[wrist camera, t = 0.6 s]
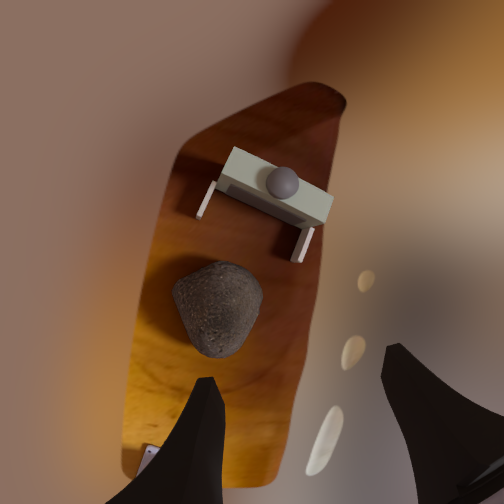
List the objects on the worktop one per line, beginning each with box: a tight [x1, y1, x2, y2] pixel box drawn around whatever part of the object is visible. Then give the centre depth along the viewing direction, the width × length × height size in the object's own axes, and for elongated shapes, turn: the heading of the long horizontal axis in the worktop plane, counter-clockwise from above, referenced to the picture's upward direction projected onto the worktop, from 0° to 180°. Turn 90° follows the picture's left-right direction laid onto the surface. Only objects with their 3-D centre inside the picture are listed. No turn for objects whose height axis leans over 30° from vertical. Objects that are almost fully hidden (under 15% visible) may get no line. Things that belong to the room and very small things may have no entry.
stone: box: [172, 261, 263, 358], centre depth 31 cm, size 10×8×10 cm
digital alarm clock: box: [196, 146, 334, 262], centre depth 30 cm, size 7×12×7 cm, turn 67°
